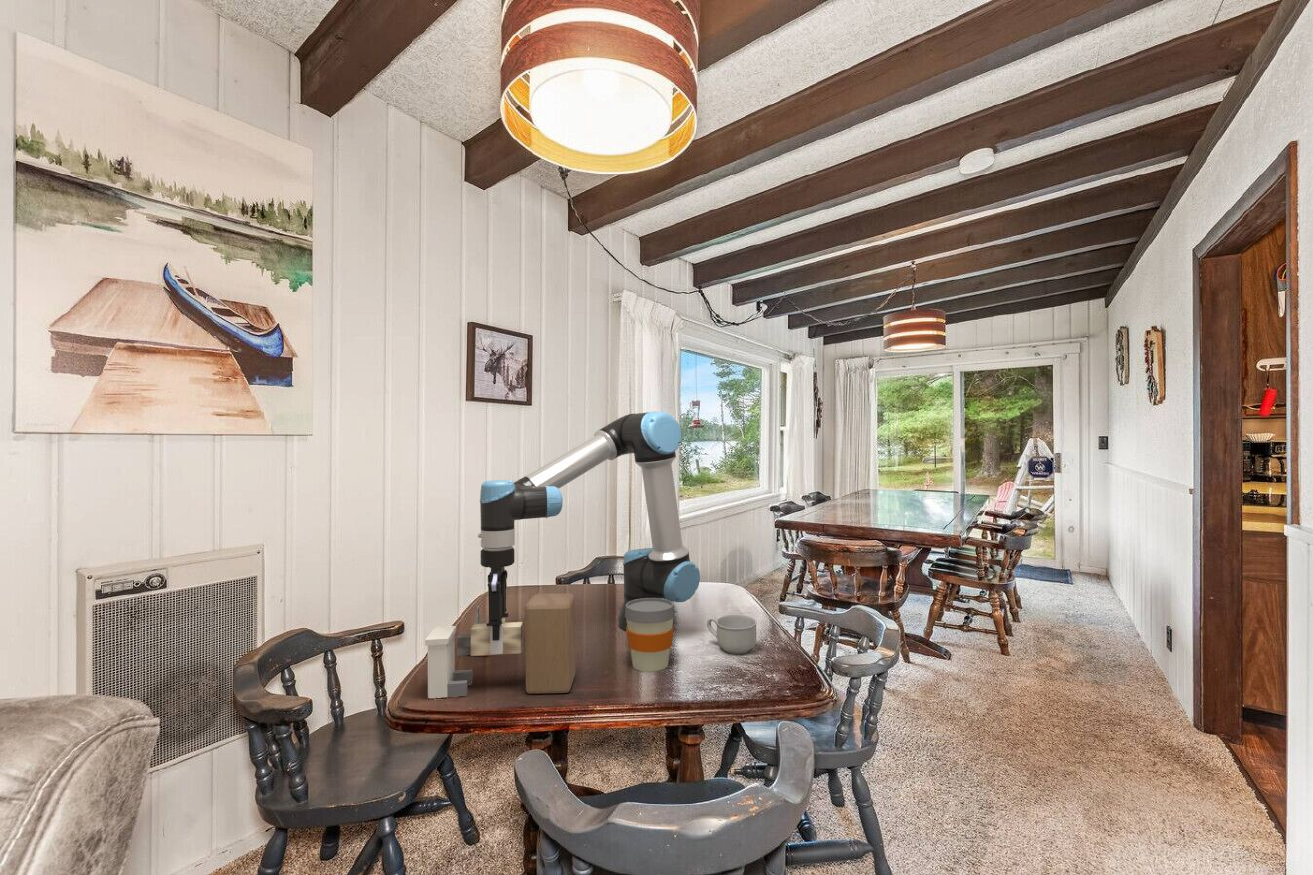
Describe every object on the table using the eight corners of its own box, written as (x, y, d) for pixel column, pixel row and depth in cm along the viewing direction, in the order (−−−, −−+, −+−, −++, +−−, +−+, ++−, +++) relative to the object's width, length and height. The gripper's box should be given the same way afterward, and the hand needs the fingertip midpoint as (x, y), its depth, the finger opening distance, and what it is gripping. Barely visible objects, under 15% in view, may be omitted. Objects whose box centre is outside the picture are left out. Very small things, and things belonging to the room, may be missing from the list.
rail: (522, 647, 131) (522, 621, 131) (520, 653, 127) (520, 626, 127) (460, 650, 129) (460, 624, 129) (456, 656, 125) (456, 629, 125)
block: (575, 675, 134) (574, 592, 134) (570, 694, 124) (569, 603, 124) (533, 676, 134) (533, 592, 134) (524, 695, 124) (524, 604, 124)
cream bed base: (472, 681, 132) (472, 624, 132) (465, 697, 123) (465, 637, 123) (435, 683, 131) (435, 626, 131) (425, 700, 122) (425, 639, 122)
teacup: (764, 649, 150) (764, 619, 150) (741, 660, 142) (741, 629, 142) (722, 637, 159) (722, 609, 160) (698, 647, 151) (698, 618, 152)
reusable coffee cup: (618, 659, 144) (617, 601, 144) (663, 652, 149) (662, 595, 149) (636, 678, 132) (635, 614, 132) (684, 669, 137) (683, 607, 137)
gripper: (486, 542, 136) (486, 638, 136) (474, 555, 120) (474, 665, 120) (518, 541, 138) (518, 637, 137) (510, 553, 121) (510, 662, 121)
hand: (497, 649), depth 128 cm, fingers closed on rail, 4 cm apart
